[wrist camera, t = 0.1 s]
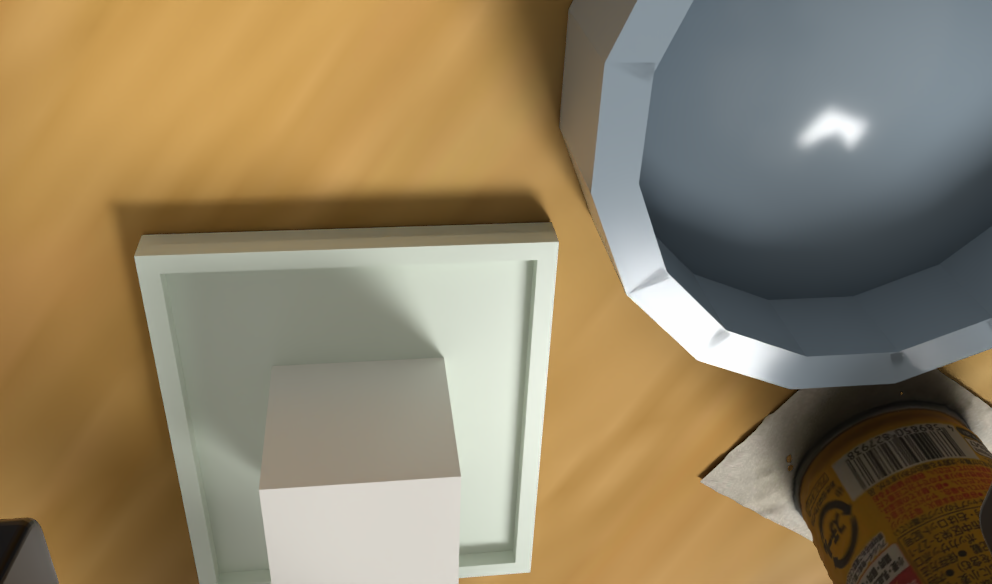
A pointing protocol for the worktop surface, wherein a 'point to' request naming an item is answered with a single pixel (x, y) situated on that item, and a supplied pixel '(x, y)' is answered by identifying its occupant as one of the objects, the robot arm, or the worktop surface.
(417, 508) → the white matte cube
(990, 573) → the condiment
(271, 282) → the tray
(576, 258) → the worktop surface
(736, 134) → the bowl
